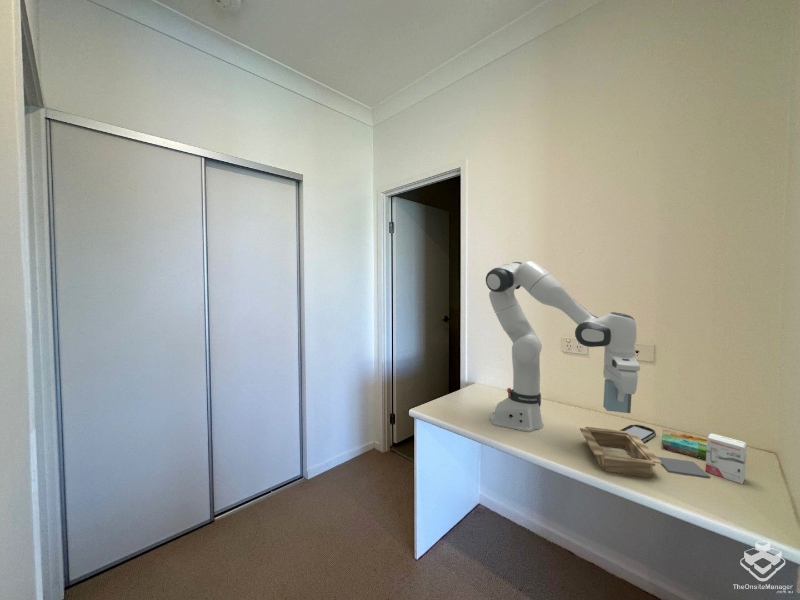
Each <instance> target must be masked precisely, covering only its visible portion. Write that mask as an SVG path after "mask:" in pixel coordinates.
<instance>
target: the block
mask: <svg viewBox="0 0 800 600" xmlns="http://www.w3.org/2000/svg"><path fill="white" fill-rule="evenodd" d="M603 387H604V388H603V389H604V390H603V408H604V409H605V410H606V411H607V412H616V413H624V414H631V411H632V409H631V408H632V395H633V394H625V396H624V401H623V402H619V401H618V400H617V399H616V395H617V394H618V391H617V390H618V389H617V388H616V387H615V386H614V383H613V382H612V381H611V380H608V379H604V386H603Z"/></svg>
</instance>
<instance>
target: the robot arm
mask: <svg viewBox="0 0 800 600" xmlns="http://www.w3.org/2000/svg"><path fill="white" fill-rule="evenodd" d="M485 284H486V287H487V289H489V290H490V291H489V294H488V296H489V297H488V298H489V300H490V304H491V306H492V309H493V311H494V314H495V316H496V318H497V320H498V322H499V324H500V325H501V327H502V329H503V331H504V332H505V333H506V335H507V336H508V337H509V339H510V341H511V342H512V346H511V358H512V359H511V361H512V371H513V372H512V374H513V377H512V378H513V381H512V388H511V387H507V389H506V392H507V396H508V397H507V398H505V399H503V400H501V401H499V402H498V403H497V404H496V407H495V408H494V411H492V412H491V413H490V414H489V421H490V422H491V424H493V425H494V426H498V427H502V428H508V429H513V430H519V431H523V432H528V433H529V432H532V431H534V430H540V429H542V428H543V426H544V423H543V418H542V413H541V405H542V395H541V367H540V363H541V362H540V361H541V360H540V358H541V357H540V356H541V352H542V345H543V344H542V342H541V340H540V338H539V335H537V332H536V331H535V329H534V328H533V326H532V324H530V322H529V321H528V318H527V317H526V315H525V312H524V311H523V309H522V306H521V305H520V303H519V302H518V299H517V298H516V296H515V290H518V289H520V288H521V287H522V288H523V289H524V290H525V291H526V292H527V293H528V294H529V295H531V297H532V298H533V299H535V300H536V301H538V302H539V303H541V304H543V305H545V306H549V307H553V308H556V309H559V310H560V311H562V312H564V314H565V315H567V316H568V317H569V318H570V319H571V320H572V321H573V322H574V323H576V325H577V327H576V328H575V330H574V336H575V338H576V341H577V342H578V343H579V344H580V345H582V346H584V347H589V348H595V347H598V348H599V347H604V356H603V357H604V358H603V363H604V365H603V378H605V379H608V380H611V381H612V382H613V383H614V386H615V387H616V388H617V389H618V390H617V391H618V394H617V395H616V399H617V400H618V401H619V402H623V401H624V396H625V394H632V395H634V394H635V393H636V392H637V387H638V380H639V375H638V374H639V373H638V372H640V370H641V366H640V363H639V362H638V360H637V357H636V349H635V344H636V341H637V323H636V320H635V318H634V317H633V316H631V315H629V314H627V313H622V312H614V311H613V312H609V313H608V314H606V315H604V316H601V317H598V316H596V315H594V314H592V313H591V312H589V311H588V310H587V309H586V308H585V307H583V305H581V304H580V303H579V302H578V301H576V300H577V299H575V298H574V297H572V295H570V294H569V292H568V291H567V290H566V289H565V288H564V286H563V285H562V283H560V282H559V280H557V279H556V277H555V276H553V275H552V274H551V272H549V271H548V270H547V269H545V268H544V267H543V266H541V265H540V264H539V263H537V262H535V261H533V260H525V261H524V262H521V261H513V262H509V263H505V264H502V265H501V266H498V267H495V268H492V269H491V270H490V271H489V272H488V273H486V276H485ZM605 379H604V380H605Z"/></svg>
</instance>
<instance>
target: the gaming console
mask: <svg viewBox="0 0 800 600" xmlns="http://www.w3.org/2000/svg"><path fill="white" fill-rule="evenodd" d="M618 431H626V432H627V433H628V434H635V435H637V437H638V438H639V439H640V440H641V441H642V442H643V443H644V444H645V443H646V442H648V441H649V440H651V439H653V438H654V437H655V436H657V435H656V431H655V430H654V429H653V428H651V427H649V426H648V427H647V426H645V425H641V424H629V425H627V426H625V427H623V428H621V429H619V430H618ZM647 440H648V441H647Z"/></svg>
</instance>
